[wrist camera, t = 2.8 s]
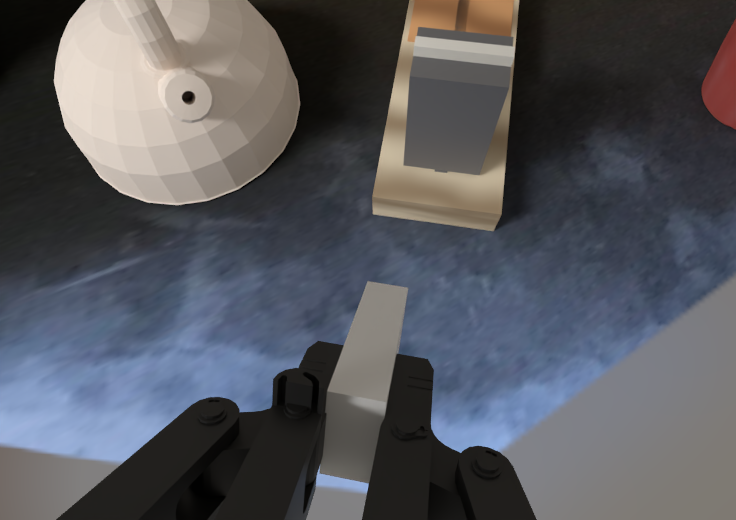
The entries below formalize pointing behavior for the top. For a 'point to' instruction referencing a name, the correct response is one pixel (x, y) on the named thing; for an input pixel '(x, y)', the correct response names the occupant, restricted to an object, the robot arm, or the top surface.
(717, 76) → the flower pot
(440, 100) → the fader knob
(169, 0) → the kettle
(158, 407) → the top surface
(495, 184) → the fader console
